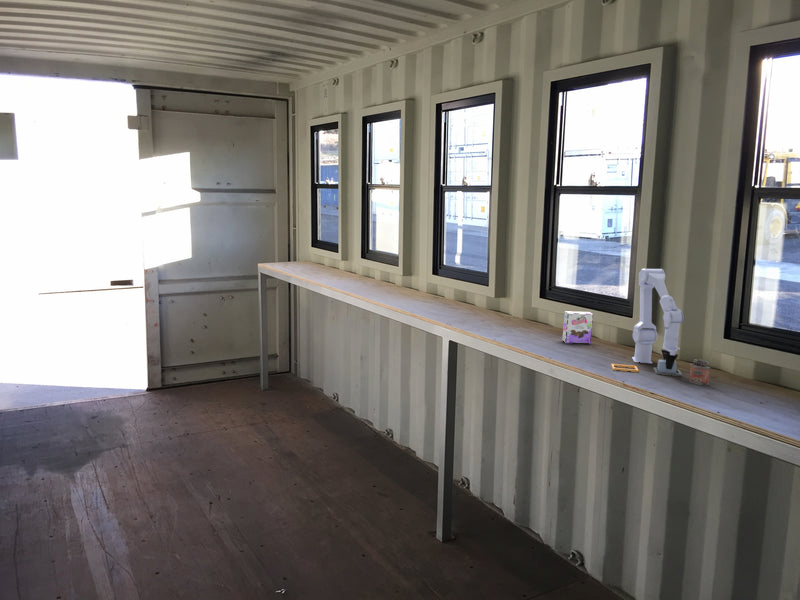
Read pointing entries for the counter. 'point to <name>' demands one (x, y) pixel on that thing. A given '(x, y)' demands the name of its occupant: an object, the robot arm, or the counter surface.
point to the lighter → (699, 372)
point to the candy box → (577, 327)
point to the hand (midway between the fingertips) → (667, 367)
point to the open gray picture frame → (668, 373)
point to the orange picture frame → (624, 366)
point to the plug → (662, 366)
